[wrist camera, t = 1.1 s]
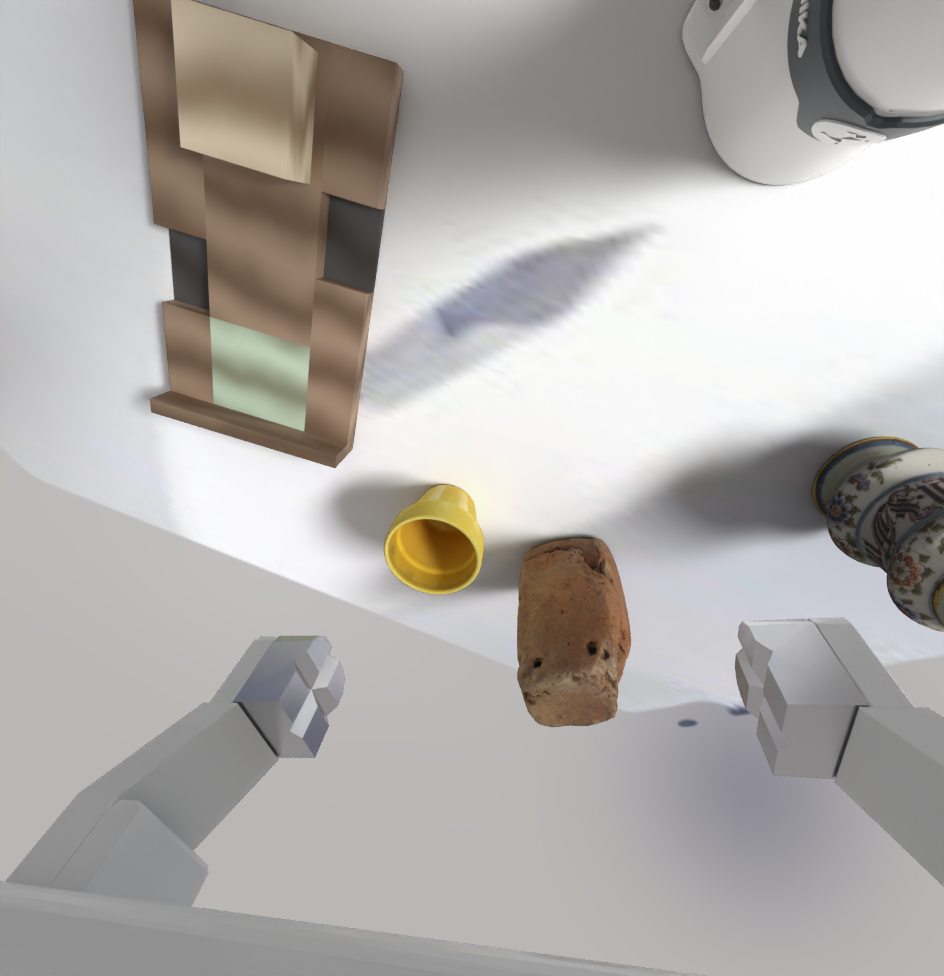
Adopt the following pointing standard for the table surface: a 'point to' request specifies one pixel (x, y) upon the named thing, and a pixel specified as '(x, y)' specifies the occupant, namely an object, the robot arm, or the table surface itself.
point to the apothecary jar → (890, 518)
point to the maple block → (244, 90)
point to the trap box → (271, 256)
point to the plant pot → (436, 542)
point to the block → (571, 633)
